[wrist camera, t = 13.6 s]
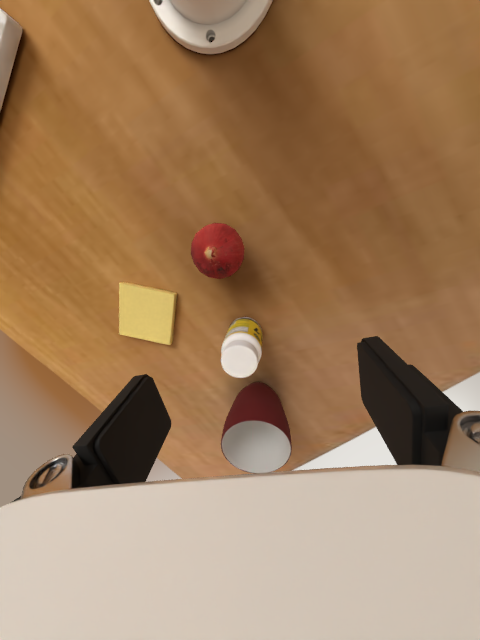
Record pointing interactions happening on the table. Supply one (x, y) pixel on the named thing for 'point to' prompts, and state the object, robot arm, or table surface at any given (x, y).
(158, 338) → the sticky note pad
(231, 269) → the onion
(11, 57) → the file sorter
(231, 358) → the supplement bottle
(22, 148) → the table surface
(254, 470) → the mug
